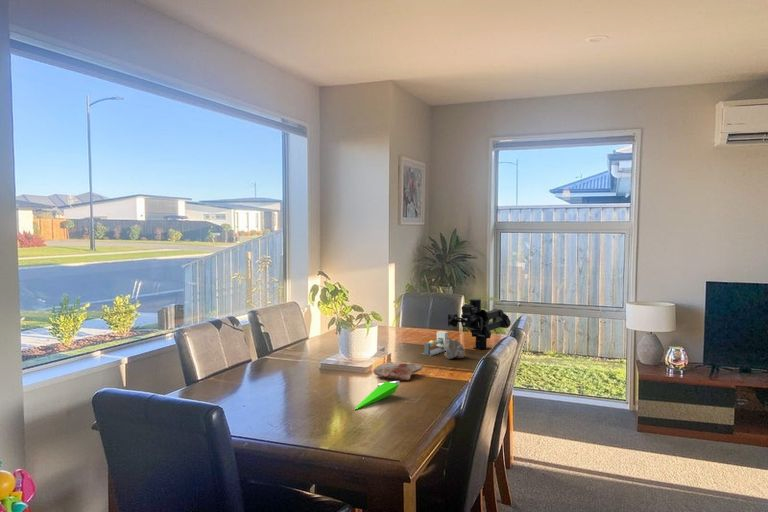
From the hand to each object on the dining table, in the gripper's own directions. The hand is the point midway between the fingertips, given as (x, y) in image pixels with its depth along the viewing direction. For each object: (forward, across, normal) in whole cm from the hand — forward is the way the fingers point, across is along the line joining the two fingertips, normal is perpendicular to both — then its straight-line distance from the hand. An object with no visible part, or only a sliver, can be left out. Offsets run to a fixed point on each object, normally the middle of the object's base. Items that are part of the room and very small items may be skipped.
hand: (456, 324), depth 275 cm
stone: (+46, -2, +17) cm, 49 cm away
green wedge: (+77, +12, +17) cm, 79 cm away
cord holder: (-4, -14, +16) cm, 22 cm away
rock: (+1, 0, +17) cm, 17 cm away
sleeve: (-10, -14, +14) cm, 22 cm away
